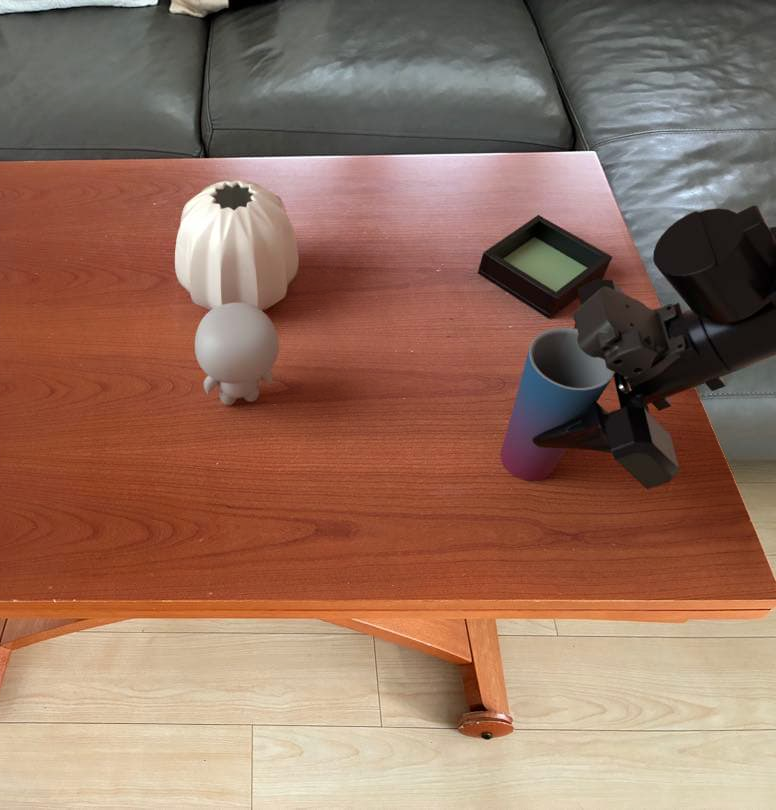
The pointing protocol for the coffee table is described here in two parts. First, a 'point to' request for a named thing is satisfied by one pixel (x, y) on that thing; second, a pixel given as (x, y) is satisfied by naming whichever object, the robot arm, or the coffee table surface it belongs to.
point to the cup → (550, 399)
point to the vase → (235, 246)
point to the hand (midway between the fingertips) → (531, 414)
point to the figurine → (236, 350)
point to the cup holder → (543, 265)
